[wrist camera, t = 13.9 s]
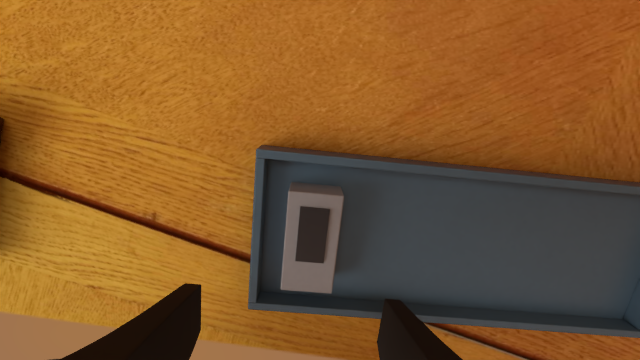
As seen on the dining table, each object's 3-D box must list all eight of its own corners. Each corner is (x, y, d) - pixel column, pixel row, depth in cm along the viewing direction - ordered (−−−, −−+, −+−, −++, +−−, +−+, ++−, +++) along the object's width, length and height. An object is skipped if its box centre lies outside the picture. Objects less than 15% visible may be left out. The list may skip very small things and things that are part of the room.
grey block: (329, 275, 19) (331, 295, 17) (283, 271, 19) (279, 291, 17) (341, 186, 18) (345, 196, 16) (291, 181, 18) (288, 191, 15)
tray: (619, 320, 21) (645, 338, 19) (253, 292, 20) (247, 309, 18) (673, 186, 19) (708, 193, 17) (261, 144, 17) (256, 148, 16)
